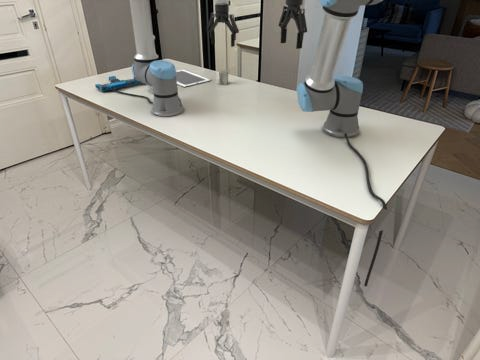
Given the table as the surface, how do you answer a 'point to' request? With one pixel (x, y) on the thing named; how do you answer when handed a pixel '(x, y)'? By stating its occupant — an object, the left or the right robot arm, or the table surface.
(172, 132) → the table surface
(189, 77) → the tablet
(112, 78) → the submachine gun
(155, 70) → the left robot arm
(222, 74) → the canister
